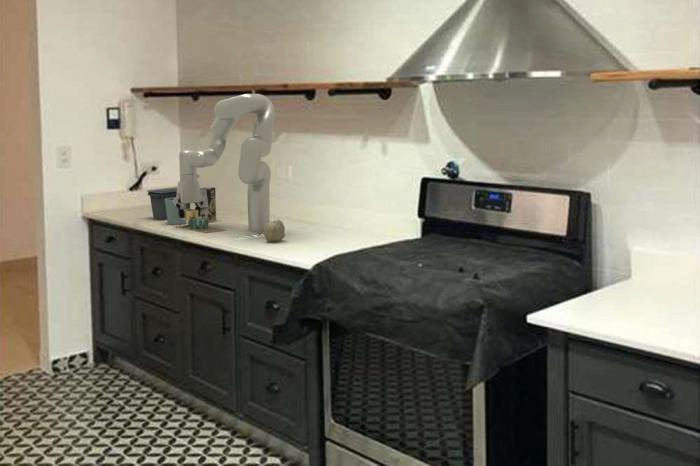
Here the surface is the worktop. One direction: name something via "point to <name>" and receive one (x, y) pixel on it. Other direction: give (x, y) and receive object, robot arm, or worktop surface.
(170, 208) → the grey green cup
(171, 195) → the storage bin
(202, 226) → the gear board
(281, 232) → the tan rounded piece
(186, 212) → the brass gear
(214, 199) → the coffee box
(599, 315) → the worktop surface
